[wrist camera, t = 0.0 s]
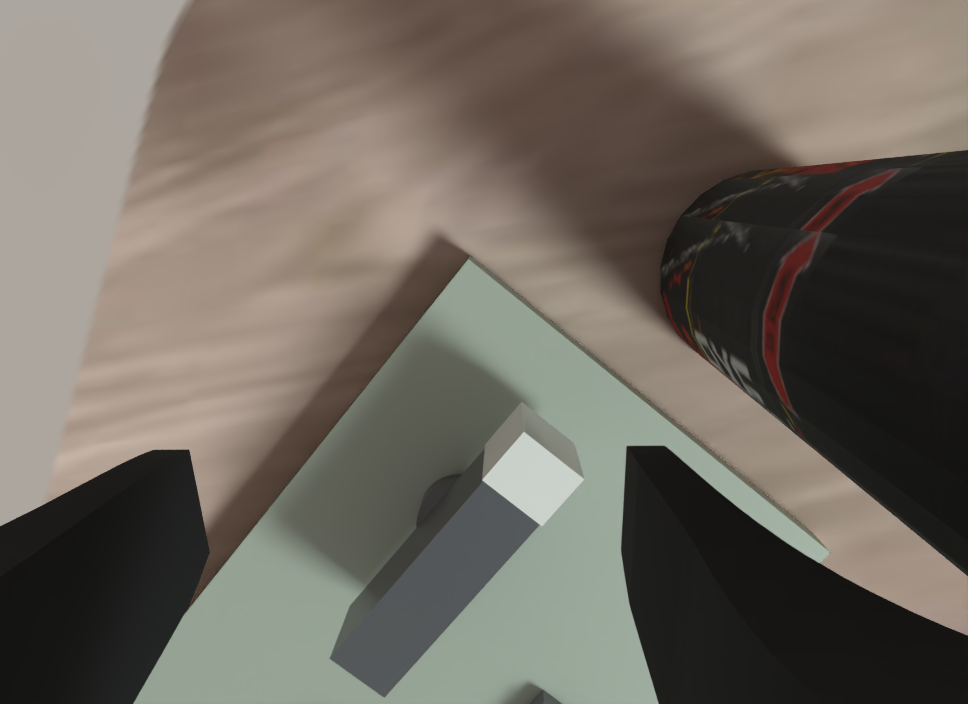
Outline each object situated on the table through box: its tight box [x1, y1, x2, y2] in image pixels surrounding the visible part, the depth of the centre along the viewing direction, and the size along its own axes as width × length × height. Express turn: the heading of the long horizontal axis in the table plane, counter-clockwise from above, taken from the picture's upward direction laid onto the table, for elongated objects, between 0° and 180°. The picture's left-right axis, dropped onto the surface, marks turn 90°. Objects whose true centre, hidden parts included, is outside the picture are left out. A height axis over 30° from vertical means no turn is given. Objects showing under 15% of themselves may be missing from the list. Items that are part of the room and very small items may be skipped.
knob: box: [330, 402, 584, 698], centre depth 20 cm, size 8×2×4 cm, turn 141°
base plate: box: [133, 256, 830, 704], centre depth 23 cm, size 24×14×3 cm, turn 141°
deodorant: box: [661, 150, 968, 576], centre depth 14 cm, size 6×6×15 cm
